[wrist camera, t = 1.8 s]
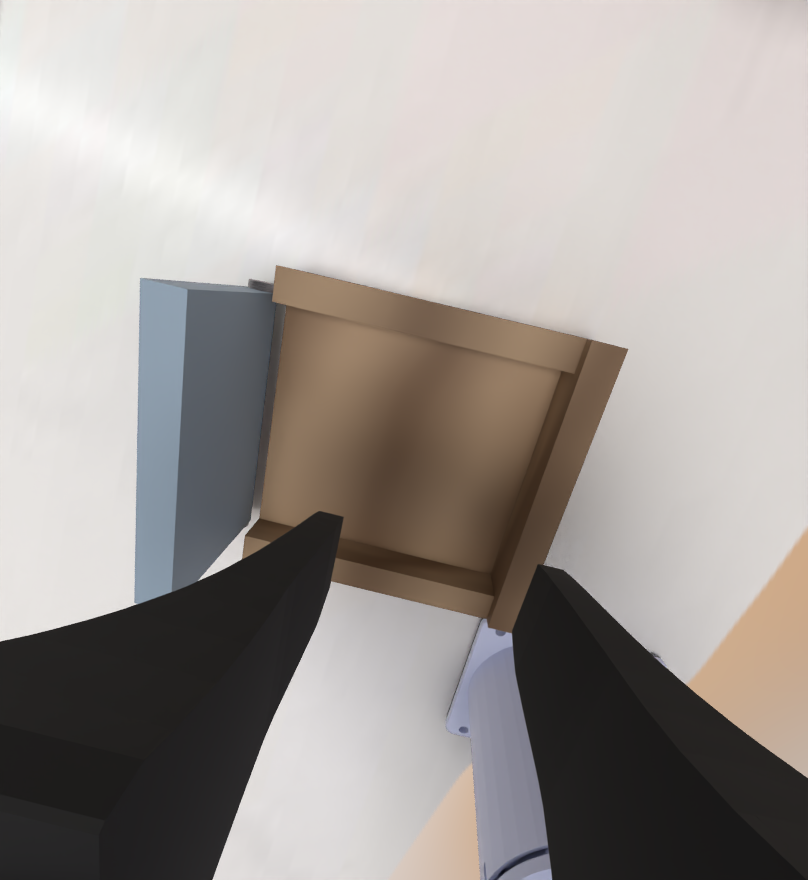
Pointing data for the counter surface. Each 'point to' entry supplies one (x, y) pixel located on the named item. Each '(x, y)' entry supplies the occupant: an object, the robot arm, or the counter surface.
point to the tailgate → (197, 424)
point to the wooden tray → (427, 440)
